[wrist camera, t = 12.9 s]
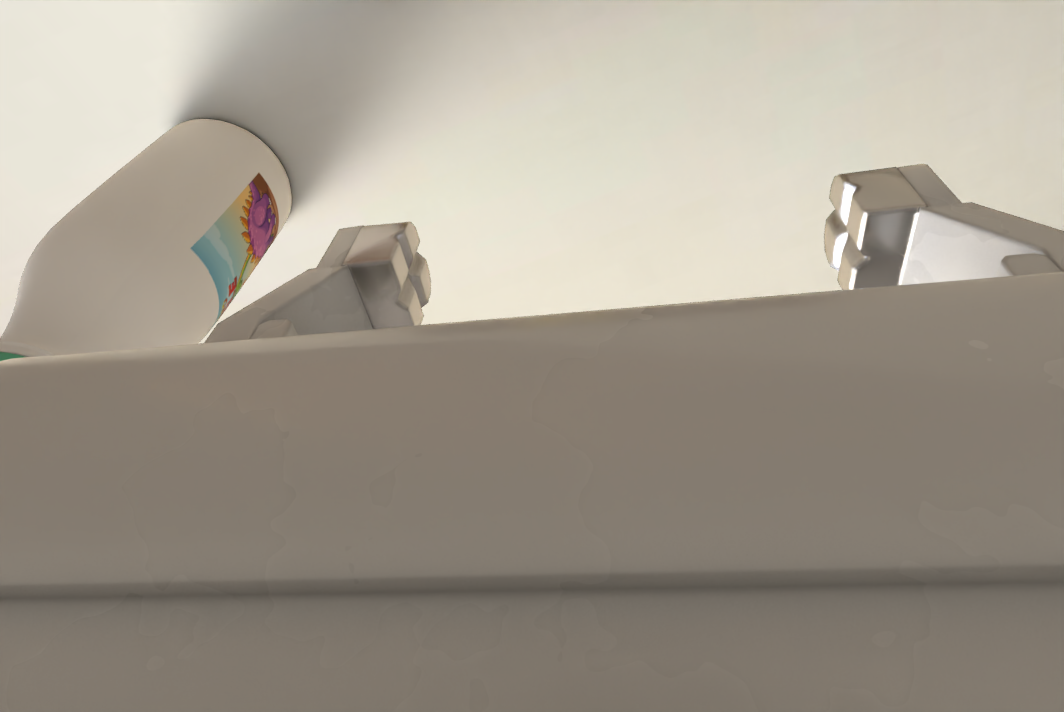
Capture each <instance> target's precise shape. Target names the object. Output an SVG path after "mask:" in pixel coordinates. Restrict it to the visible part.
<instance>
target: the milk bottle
mask: <svg viewBox="0 0 1064 712" xmlns="http://www.w3.org/2000/svg"><path fill="white" fill-rule="evenodd" d="M291 204H292V195H291V188H290V183H289V180H288V177H287V175H286V172H285V169H284V168H283V166H282V165H281V163H280V161H279V159H278V158H277V157H276V155H275V154H274V153H273V152H272V151H271V150H270V148H269V147H268V146H267V145H265V144H264V143H263V142H262V141H261V140H260V139H259V138H258V137H256V136H254V135H253V134H251V133H250V132H248V131H247V130H245V129H243V128H240V127H238V126H236V125H234V124H231V123H227V122H224V121H220V120H211V119H194V120H189V121H185V122H182V123H180V124H178V125H176V126H175V127H173V128H172V129H170V130H169V131H167V132H166V133H165V134H163V135H162V136H161V137H160V138H158V139H157V140H156V141H155V142H153V143H152V144H151V145H150V146H148V147H147V148H146V149H145V150H143V151H142V152H141V153H140V154H138V155H137V156H136V157H135V158H133V159H132V160H131V161H130V162H129V163H127V164H126V165H125V166H124V167H122V168H121V169H120V170H119V171H117V172H116V173H115V174H114V175H113V176H111V177H110V178H109V179H108V180H106V181H105V182H104V183H103V184H102V185H101V186H99V187H98V188H97V189H96V190H95V191H93V192H92V193H91V194H90V195H89V196H87V197H86V198H85V199H84V200H83V201H81V202H80V203H79V204H78V205H77V206H75V207H74V208H73V209H72V210H71V211H70V212H69V213H68V214H66V215H65V216H64V217H63V218H62V219H61V220H60V221H59V222H58V223H57V224H56V225H55V226H53V227H52V228H51V229H50V230H49V232H48V233H47V234H46V235H45V236H44V238H43V239H42V240H41V241H40V242H39V244H38V245H37V246H36V248H35V249H34V251H33V253H32V254H31V256H30V258H29V259H28V261H27V264H26V266H25V268H24V271H23V273H22V276H21V280H20V284H19V288H18V293H17V298H16V302H15V307H14V310H13V313H12V316H11V319H10V321H9V323H8V325H7V327H6V329H5V331H4V333H3V335H2V336H1V338H0V361H3V360H8V359H13V358H24V357H38V356H58V355H70V354H82V353H94V352H106V351H118V350H130V349H142V348H154V347H166V346H177V345H189V344H198V343H199V342H200V341H201V340H202V339H203V338H204V337H205V336H206V335H207V333H208V332H209V331H210V330H211V328H212V327H213V326H214V324H215V323H216V322H217V321H218V319H219V318H220V317H221V315H222V314H223V313H224V311H225V310H226V309H227V307H228V306H229V304H230V303H231V301H232V300H233V299H234V297H235V296H236V294H237V293H238V292H239V290H240V289H241V287H242V286H243V285H244V283H245V282H246V280H247V279H248V277H249V276H250V275H251V273H252V272H253V270H254V269H255V267H256V266H257V264H258V263H259V261H260V260H261V259H262V257H263V256H264V254H265V253H266V251H267V250H268V248H269V247H270V245H271V244H272V243H273V241H274V240H275V238H276V237H277V235H278V234H279V232H280V231H281V229H282V228H283V226H284V224H285V223H286V221H287V219H288V217H289V214H290V211H291Z"/></svg>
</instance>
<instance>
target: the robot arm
mask: <svg viewBox="0 0 1064 712" xmlns="http://www.w3.org/2000/svg"><path fill="white" fill-rule="evenodd" d="M829 199H830V200H831V202H832V204H833V206H834V208H835V210H834V211H833V212H832V213H831V215H830V216H829V217H828V218H827V219H826V224H825V233H824V244H825V253H826V257H827V260H828V262H829V264H830V266H831V267H832V268H834V269H836V270H838V271H839V273H838V279H837V281H838V283H839V285H840V287H841V288H842V290H837V291H825V292H813V293H801V294H789V295H777V296H765V297H753V298H741V299H729V300H717V301H705V302H693V303H681V304H669V305H657V306H645V307H633V308H621V309H609V310H597V311H585V312H573V313H561V314H548V315H536V316H524V317H512V318H500V319H488V320H476V321H464V322H452V323H440V324H428V325H421V323H422V320H423V317H424V315H423V312H422V309H421V308H422V307H423V306H424V305H426V304H427V303H428V301H429V297H430V294H431V279H430V273H429V268H428V265H427V261H426V259H425V258H424V257H422V256H421V255H420V254H419V253H418V252H416V251H417V248H418V246H419V243H420V239H419V236H418V233H417V230H416V227H415V226H414V225H413V224H412V222H402V223H391V224H380V225H369V226H363V225H362V226H356V227H349V228H343V229H339V230H338V232H337V234H336V235H335V237H334V239H333V240H332V242H331V244H330V246H329V247H328V249H327V251H326V252H325V254H324V256H323V257H322V259H321V261H320V263H319V264H318V266H317V268H314V269H308V270H307V271H305V272H303V273H302V274H300V275H298V276H297V277H295V278H293V279H292V280H290V281H288V282H287V283H285V284H283V285H282V286H280V287H278V288H277V289H275V290H273V291H272V292H270V293H268V294H267V295H265V296H263V297H262V298H260V299H258V300H257V301H255V302H253V303H252V304H250V305H248V306H247V307H245V308H243V309H241V310H240V311H238V312H236V313H235V314H233V315H231V316H230V317H228V318H226V319H225V320H223V321H221V322H220V323H218V324H217V326H216V327H215V328H214V330H213V331H212V333H211V334H210V335H209V337H208V338H207V340H206V341H205V343H201V344H189V345H177V346H166V347H154V348H142V349H130V350H118V351H106V352H94V353H82V354H70V355H58V356H38V357H24V358H13V359H8V360H3V361H0V712H1064V231H1062V230H1058V229H1055V228H1052V227H1049V226H1046V225H1042V224H1039V223H1036V222H1033V221H1030V220H1026V219H1023V218H1020V217H1017V216H1013V215H1010V214H1007V213H1004V212H1001V211H997V210H994V209H991V208H988V207H985V206H981V205H978V204H975V203H972V202H971V203H961V201H960V200H959V199H958V198H957V197H956V196H955V195H954V194H953V193H952V191H951V190H950V189H949V188H948V187H947V186H946V185H945V184H944V183H943V181H942V180H941V179H940V178H939V177H938V176H937V175H936V174H935V173H934V172H933V170H932V169H931V168H930V167H929V166H928V165H926V164H917V165H910V166H904V167H897V168H896V167H892V168H884V169H877V170H869V171H862V172H854V173H847V174H839V175H837V176H835V177H834V179H833V182H832V185H831V190H830V196H829Z"/></svg>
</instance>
